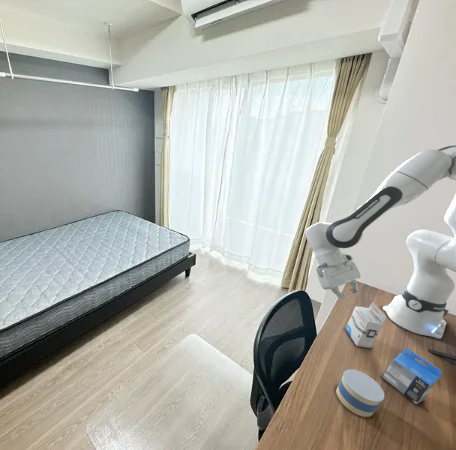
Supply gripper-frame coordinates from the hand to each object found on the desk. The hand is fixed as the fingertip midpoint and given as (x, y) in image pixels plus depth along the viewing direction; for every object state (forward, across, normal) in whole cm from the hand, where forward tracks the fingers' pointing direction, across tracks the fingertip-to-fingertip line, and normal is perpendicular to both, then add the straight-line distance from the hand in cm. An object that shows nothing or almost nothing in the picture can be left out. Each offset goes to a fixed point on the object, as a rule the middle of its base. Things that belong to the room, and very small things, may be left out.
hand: (349, 295), depth 94 cm
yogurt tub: (+25, -27, -4) cm, 37 cm away
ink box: (+16, 0, +5) cm, 17 cm away
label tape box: (+28, -9, -7) cm, 30 cm away
